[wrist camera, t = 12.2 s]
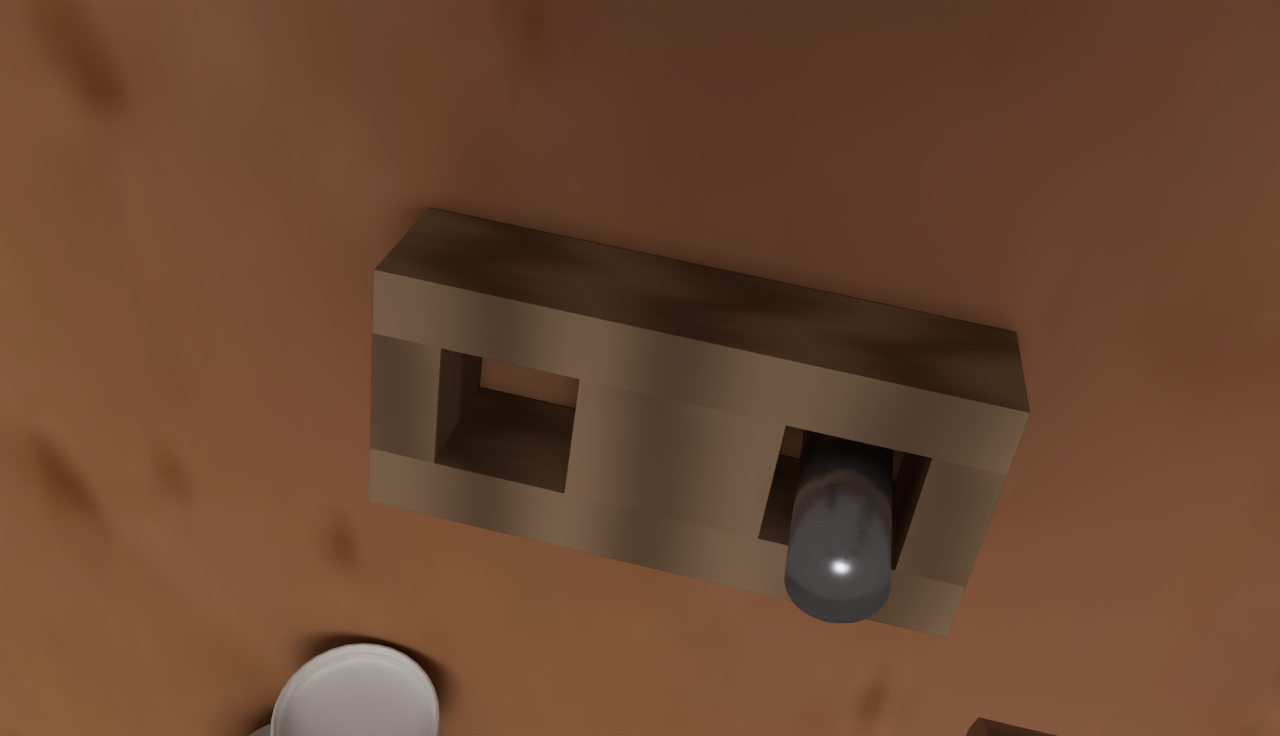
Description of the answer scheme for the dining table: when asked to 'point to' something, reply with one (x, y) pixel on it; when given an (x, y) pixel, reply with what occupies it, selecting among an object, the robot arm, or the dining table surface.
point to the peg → (840, 529)
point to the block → (677, 407)
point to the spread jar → (356, 696)
